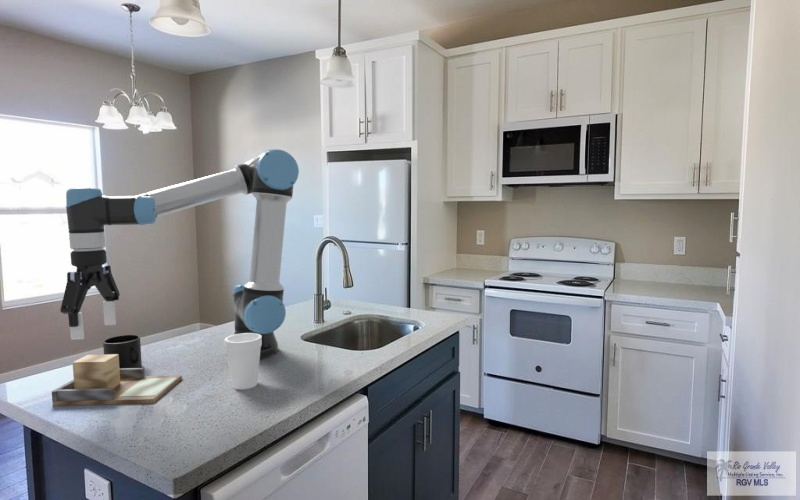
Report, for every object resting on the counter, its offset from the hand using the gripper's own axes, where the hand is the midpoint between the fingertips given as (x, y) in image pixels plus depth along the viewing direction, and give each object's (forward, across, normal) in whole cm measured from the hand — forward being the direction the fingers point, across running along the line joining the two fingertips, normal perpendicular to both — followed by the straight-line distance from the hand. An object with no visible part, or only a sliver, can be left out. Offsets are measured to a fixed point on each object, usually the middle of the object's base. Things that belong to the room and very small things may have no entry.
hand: (95, 331), depth 118 cm
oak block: (+15, 0, 0) cm, 15 cm away
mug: (+16, -17, -2) cm, 24 cm away
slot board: (+16, 0, +6) cm, 17 cm away
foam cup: (+16, -2, +37) cm, 40 cm away
